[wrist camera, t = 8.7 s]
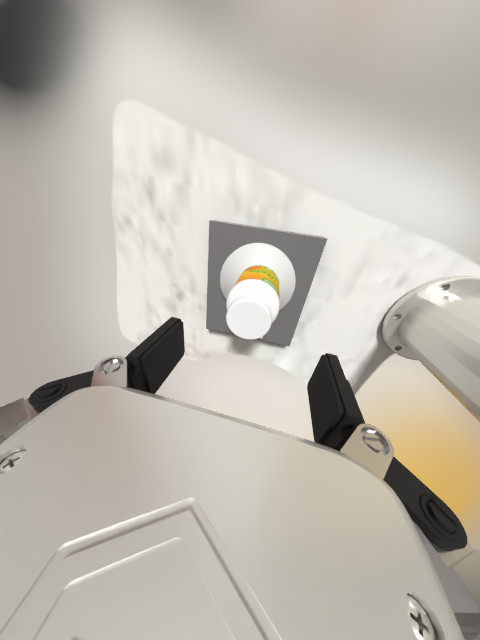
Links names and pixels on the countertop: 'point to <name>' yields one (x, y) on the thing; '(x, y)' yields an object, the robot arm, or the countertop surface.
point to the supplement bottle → (253, 302)
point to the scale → (261, 249)
